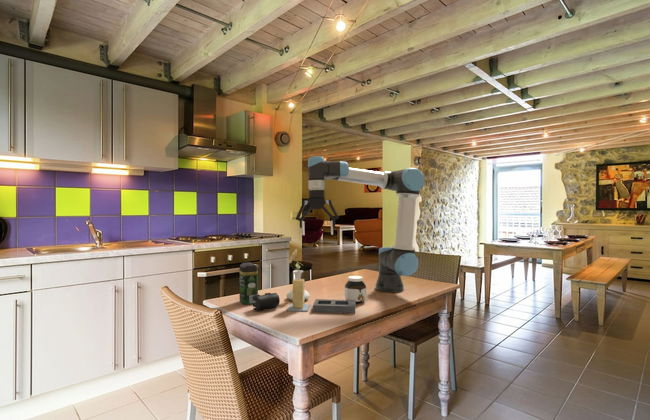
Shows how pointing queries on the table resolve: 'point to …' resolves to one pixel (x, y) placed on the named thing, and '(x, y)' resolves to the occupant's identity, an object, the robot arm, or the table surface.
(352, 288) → the spread jar
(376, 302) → the table surface
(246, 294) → the coffee jar
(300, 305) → the brass peg
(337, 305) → the steel socket block
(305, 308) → the slate pad
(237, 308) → the table surface
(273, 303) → the end cap
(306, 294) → the flower in vase
